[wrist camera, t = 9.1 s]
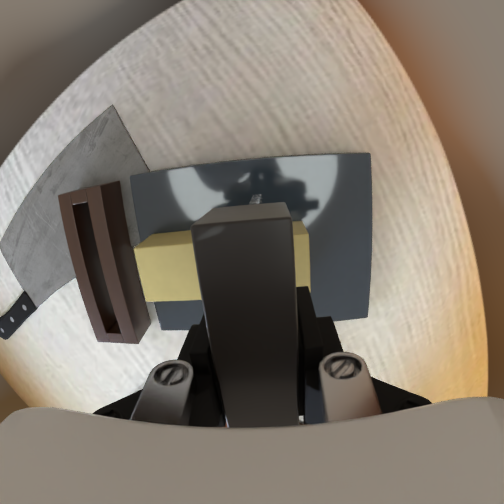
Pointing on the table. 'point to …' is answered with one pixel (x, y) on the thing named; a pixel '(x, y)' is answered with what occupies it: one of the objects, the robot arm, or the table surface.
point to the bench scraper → (251, 310)
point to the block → (105, 262)
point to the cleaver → (49, 216)
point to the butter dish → (300, 208)
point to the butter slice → (301, 254)
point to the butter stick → (168, 267)
